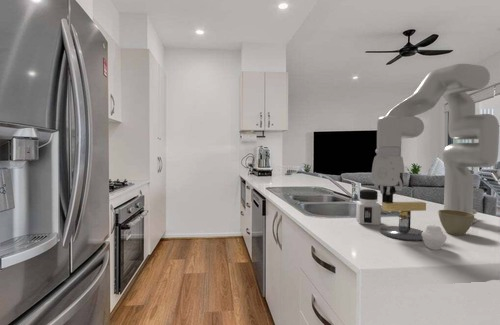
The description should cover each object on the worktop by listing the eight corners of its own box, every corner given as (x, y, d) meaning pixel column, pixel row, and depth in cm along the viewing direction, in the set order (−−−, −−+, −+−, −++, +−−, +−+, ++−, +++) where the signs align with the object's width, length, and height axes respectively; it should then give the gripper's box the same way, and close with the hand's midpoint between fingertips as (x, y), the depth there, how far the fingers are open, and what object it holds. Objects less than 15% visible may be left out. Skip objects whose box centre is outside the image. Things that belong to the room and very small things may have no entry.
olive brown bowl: (430, 230, 98) (431, 210, 98) (450, 228, 102) (451, 208, 102) (460, 239, 89) (461, 217, 89) (480, 235, 92) (481, 214, 92)
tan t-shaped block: (382, 217, 94) (382, 202, 94) (420, 216, 95) (420, 201, 95) (386, 218, 92) (386, 203, 91) (425, 217, 93) (426, 202, 93)
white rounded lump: (428, 251, 78) (429, 226, 77) (416, 244, 84) (417, 221, 84) (451, 252, 77) (452, 227, 77) (437, 244, 83) (438, 221, 83)
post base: (399, 227, 103) (399, 200, 103) (437, 237, 90) (438, 207, 90) (371, 231, 97) (372, 203, 97) (408, 243, 84) (409, 210, 84)
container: (380, 225, 105) (381, 191, 105) (359, 224, 107) (360, 190, 106) (375, 220, 113) (376, 188, 113) (355, 219, 115) (356, 188, 114)
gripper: (363, 152, 100) (362, 202, 101) (400, 152, 87) (398, 210, 87) (378, 152, 103) (377, 201, 104) (416, 152, 90) (415, 208, 90)
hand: (387, 205), depth 96 cm, fingers closed
